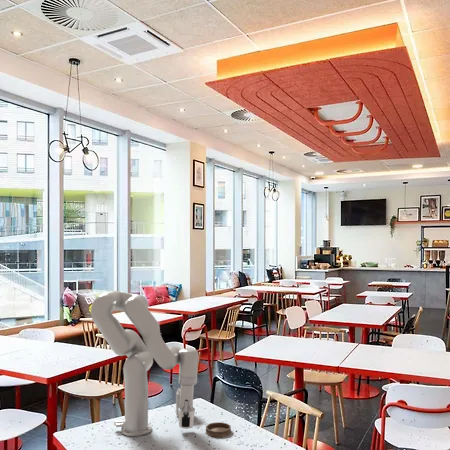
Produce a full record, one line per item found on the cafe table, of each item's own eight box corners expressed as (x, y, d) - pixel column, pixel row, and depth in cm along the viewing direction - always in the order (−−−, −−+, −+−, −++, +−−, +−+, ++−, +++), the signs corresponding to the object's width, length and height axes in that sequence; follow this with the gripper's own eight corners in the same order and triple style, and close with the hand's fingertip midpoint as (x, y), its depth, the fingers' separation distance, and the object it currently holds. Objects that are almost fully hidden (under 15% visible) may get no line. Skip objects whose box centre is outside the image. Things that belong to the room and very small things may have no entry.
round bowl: (205, 437, 195) (205, 432, 195) (206, 427, 205) (206, 422, 205) (231, 436, 195) (231, 431, 195) (230, 427, 206) (230, 422, 206)
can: (173, 417, 217) (173, 390, 218) (179, 412, 224) (179, 385, 225) (189, 419, 215) (189, 391, 216) (194, 413, 223) (194, 387, 223)
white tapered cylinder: (194, 423, 204) (195, 406, 204) (193, 429, 197) (194, 412, 197) (178, 422, 204) (178, 405, 204) (176, 428, 197) (177, 411, 197)
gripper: (180, 373, 209) (178, 415, 209) (177, 385, 192) (175, 431, 191) (197, 374, 210) (195, 416, 209) (196, 386, 192) (194, 432, 192)
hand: (186, 423), depth 200 cm, fingers closed on white tapered cylinder, 6 cm apart
